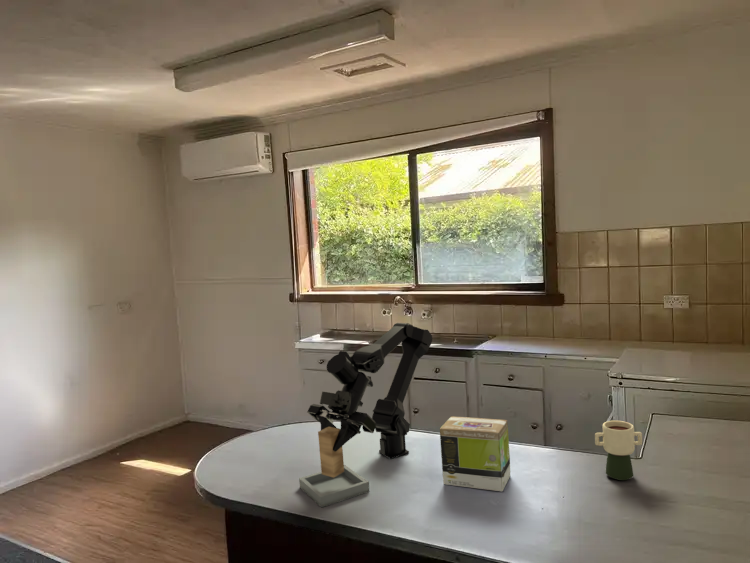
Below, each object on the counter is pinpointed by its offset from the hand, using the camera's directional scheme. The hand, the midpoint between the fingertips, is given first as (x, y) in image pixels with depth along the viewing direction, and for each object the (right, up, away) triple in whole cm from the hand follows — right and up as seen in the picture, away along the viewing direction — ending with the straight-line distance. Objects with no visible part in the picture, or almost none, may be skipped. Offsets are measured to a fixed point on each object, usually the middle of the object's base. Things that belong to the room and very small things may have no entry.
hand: (327, 449), depth 143 cm
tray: (+2, -11, +2) cm, 11 cm away
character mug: (+71, -7, -2) cm, 72 cm away
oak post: (+1, -6, +2) cm, 7 cm away
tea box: (+37, -9, +2) cm, 38 cm away
